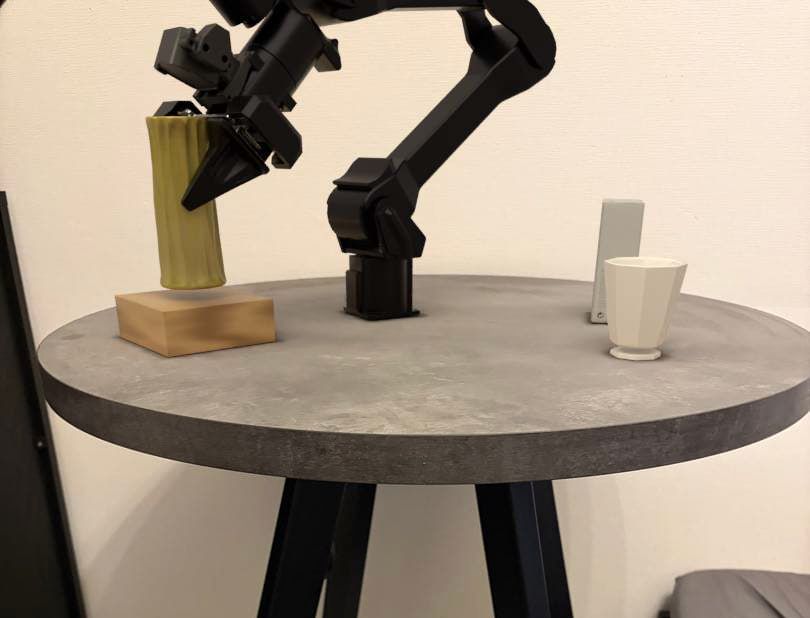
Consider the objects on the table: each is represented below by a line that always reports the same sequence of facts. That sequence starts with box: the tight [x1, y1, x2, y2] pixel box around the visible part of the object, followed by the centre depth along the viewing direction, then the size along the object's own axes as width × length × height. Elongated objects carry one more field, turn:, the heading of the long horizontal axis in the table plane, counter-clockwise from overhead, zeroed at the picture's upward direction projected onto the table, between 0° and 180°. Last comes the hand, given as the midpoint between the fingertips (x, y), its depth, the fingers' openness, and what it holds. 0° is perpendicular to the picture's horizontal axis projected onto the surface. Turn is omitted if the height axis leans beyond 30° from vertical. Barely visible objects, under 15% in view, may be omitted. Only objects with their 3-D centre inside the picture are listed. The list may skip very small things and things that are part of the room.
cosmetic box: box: [590, 198, 646, 324], centre depth 91 cm, size 6×4×12 cm
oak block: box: [114, 285, 276, 358], centre depth 83 cm, size 11×11×4 cm
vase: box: [145, 116, 228, 290], centre depth 79 cm, size 6×6×14 cm
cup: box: [604, 256, 689, 361], centre depth 78 cm, size 7×10×8 cm
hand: (171, 205), depth 78 cm, fingers closed on vase, 5 cm apart
